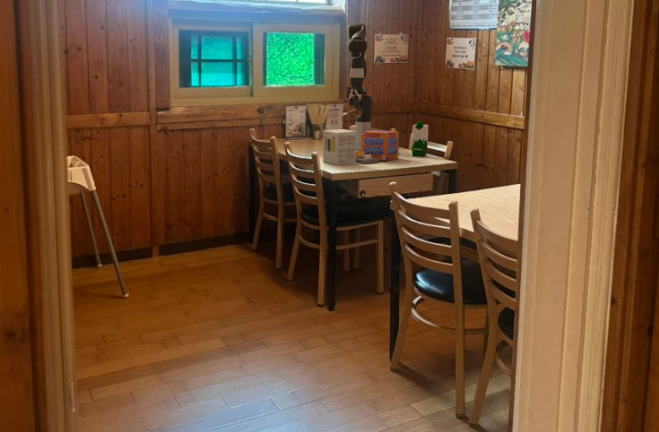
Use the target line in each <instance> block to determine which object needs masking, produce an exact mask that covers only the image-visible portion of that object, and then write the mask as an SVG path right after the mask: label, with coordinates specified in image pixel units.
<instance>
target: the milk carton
mask: <svg viewBox="0 0 659 432" xmlns="http://www.w3.org/2000/svg"><path fill="white" fill-rule="evenodd" d="M415 123H416V124H414V125H412V130H411V131H412V132H411V157H418V158H419V157H420V158H425V157H426V156H427V152H428V145H429V143H428V142H429V140H428V138H429V125H428V124H424V121H416V122H415Z"/></svg>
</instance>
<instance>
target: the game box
mask: <svg viewBox="0 0 659 432" xmlns="http://www.w3.org/2000/svg"><path fill="white" fill-rule="evenodd" d="M399 141H400V131H398V130H371V131H366V132H362V150H361V151H364V153H365V155H371V157H372V158H378V159H379V161H383V162H385V161H391V160H396V159H399V150H400V149H399V148H400V146H399V143H400V142H399Z"/></svg>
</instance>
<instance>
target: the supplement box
mask: <svg viewBox="0 0 659 432" xmlns="http://www.w3.org/2000/svg"><path fill="white" fill-rule="evenodd" d="M322 132H323V134H322V135H323V136H322V140H323V142H322V147H323V148H322V150H323V153H322V154H323V155H322V162H323V163H325V162H327V163H326V164H330V163H331V165H335V166H341V165H351V164H357V163H356V152H357V150H356V131H350V129H349V130H348V129H343V128H340V129H339V128H338V129H326V130H323V131H322Z"/></svg>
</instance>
